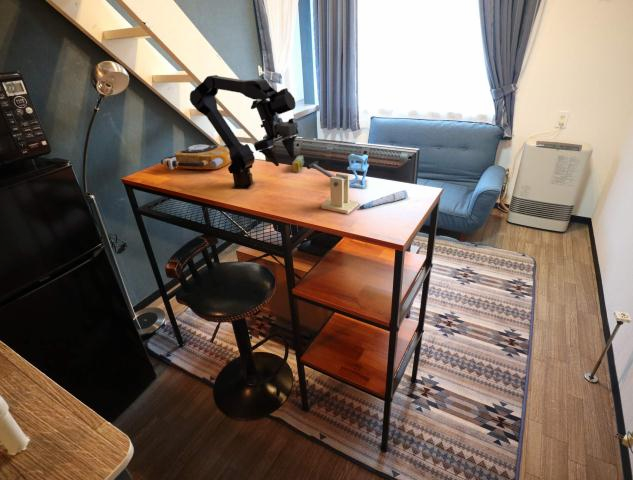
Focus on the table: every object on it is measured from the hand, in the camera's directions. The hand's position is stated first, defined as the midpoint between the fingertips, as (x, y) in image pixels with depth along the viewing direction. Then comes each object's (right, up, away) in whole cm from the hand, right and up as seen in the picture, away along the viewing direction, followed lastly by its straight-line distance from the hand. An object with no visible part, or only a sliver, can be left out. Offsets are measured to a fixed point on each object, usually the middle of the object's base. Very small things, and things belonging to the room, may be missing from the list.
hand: (285, 161), depth 123 cm
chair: (+27, -6, +11) cm, 30 cm away
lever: (+14, -7, -9) cm, 18 cm away
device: (-42, +6, +37) cm, 56 cm away
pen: (+34, -16, -6) cm, 38 cm away
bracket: (+19, -17, -7) cm, 26 cm away
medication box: (+3, +4, +30) cm, 30 cm away
